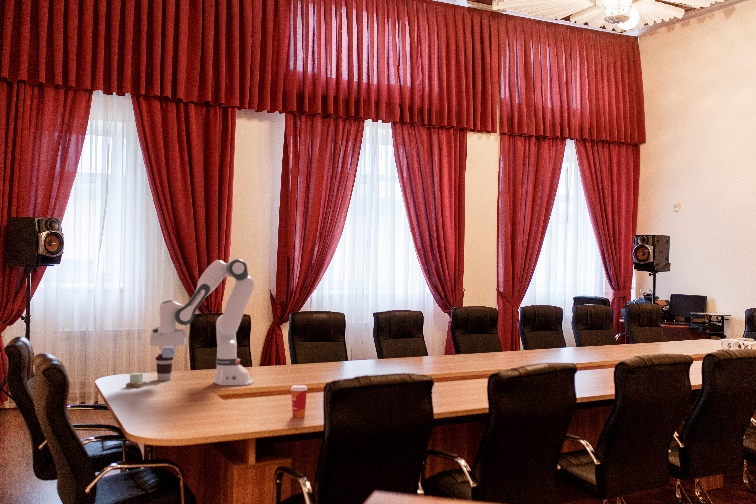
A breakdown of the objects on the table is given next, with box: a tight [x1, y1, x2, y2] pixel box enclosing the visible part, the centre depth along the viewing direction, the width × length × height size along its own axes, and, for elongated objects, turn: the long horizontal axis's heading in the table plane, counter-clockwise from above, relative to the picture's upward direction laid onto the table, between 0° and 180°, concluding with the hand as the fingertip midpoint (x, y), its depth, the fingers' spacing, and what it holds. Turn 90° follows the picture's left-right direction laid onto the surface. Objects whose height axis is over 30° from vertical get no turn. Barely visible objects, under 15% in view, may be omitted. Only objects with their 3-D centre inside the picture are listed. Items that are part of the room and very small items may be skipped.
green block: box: [129, 372, 143, 384], centre depth 386 cm, size 5×5×5 cm
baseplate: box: [125, 381, 147, 389], centre depth 386 cm, size 8×8×2 cm
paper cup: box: [290, 384, 308, 419], centre depth 319 cm, size 8×8×14 cm
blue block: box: [162, 346, 175, 358], centre depth 392 cm, size 5×5×5 cm
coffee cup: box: [155, 353, 174, 382], centre depth 406 cm, size 10×10×15 cm
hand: (168, 353), depth 392 cm, fingers closed on blue block, 5 cm apart
